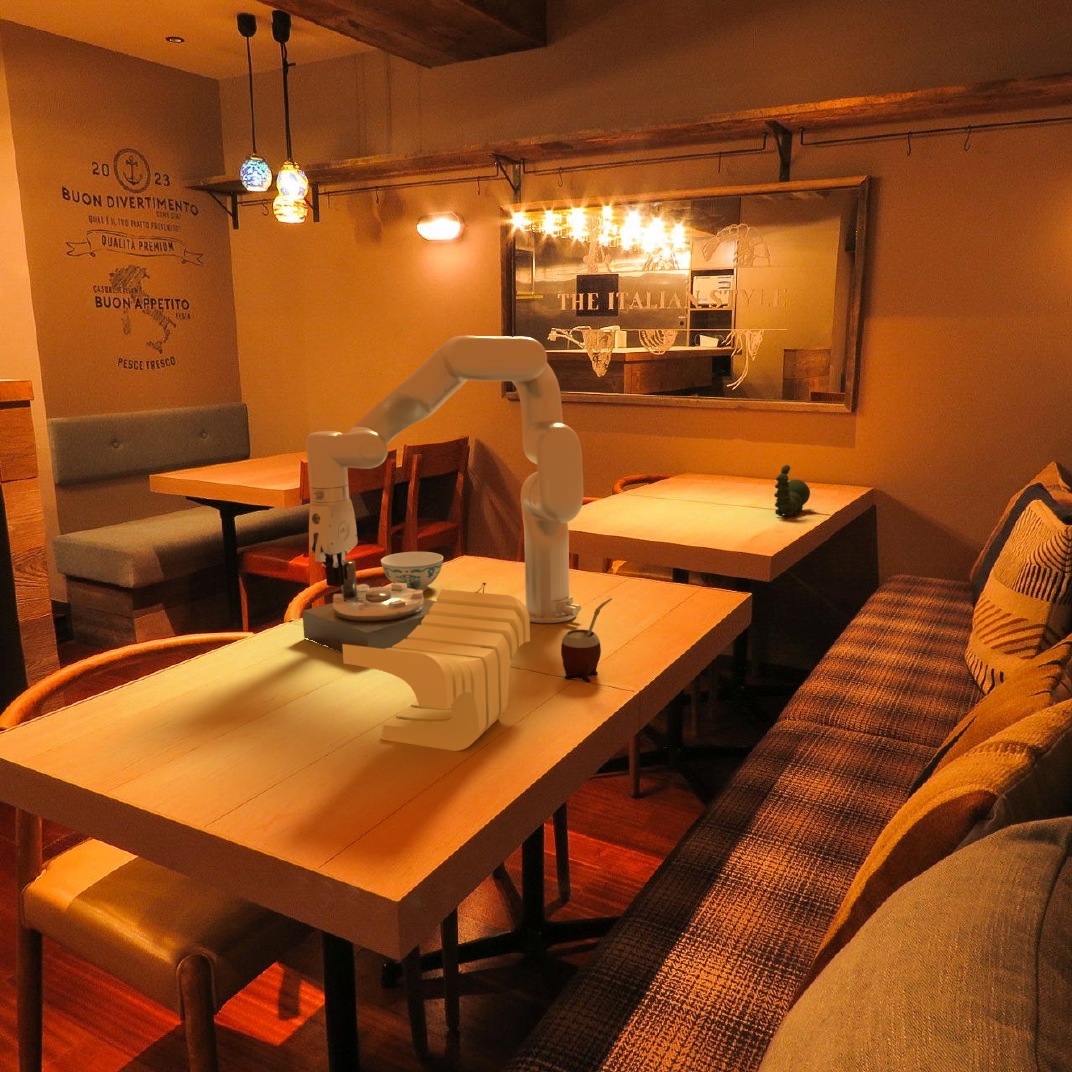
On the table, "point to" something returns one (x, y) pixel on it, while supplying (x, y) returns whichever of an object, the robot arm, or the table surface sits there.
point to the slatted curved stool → (452, 668)
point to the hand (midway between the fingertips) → (335, 585)
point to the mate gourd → (581, 651)
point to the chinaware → (413, 568)
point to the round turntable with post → (374, 599)
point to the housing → (358, 628)
